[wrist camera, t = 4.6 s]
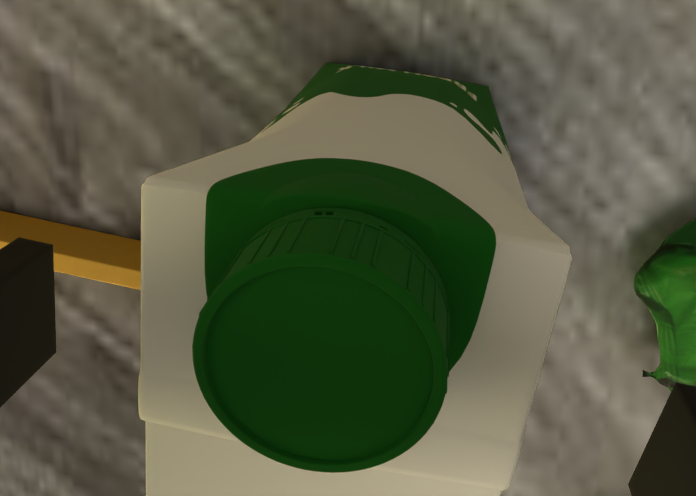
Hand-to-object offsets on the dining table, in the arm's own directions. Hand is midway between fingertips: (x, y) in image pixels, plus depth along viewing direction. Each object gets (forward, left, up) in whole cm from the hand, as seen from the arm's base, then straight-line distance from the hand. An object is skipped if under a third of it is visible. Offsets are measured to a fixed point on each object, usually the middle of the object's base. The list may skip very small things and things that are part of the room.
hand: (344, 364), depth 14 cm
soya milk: (0, 0, -17) cm, 17 cm away
